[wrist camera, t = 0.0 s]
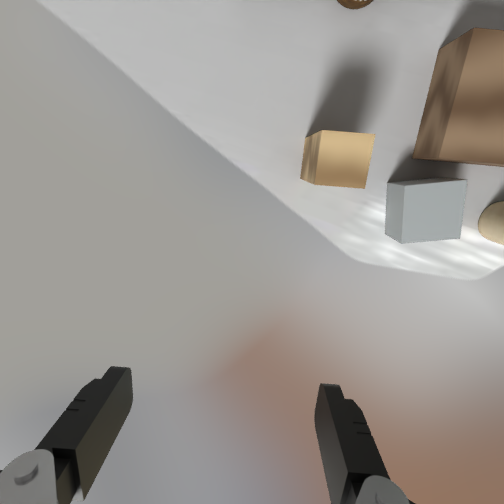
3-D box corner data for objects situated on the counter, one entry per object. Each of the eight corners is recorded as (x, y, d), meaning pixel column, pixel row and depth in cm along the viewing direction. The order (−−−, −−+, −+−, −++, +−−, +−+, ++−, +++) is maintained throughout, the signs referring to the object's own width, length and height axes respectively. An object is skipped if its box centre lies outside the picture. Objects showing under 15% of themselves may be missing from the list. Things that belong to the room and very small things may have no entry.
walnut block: (437, 50, 33) (474, 27, 27) (548, 60, 33) (608, 39, 27) (410, 158, 37) (438, 158, 31) (510, 167, 37) (556, 168, 31)
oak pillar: (305, 138, 36) (321, 129, 27) (344, 141, 36) (375, 134, 27) (300, 178, 38) (314, 184, 28) (337, 181, 38) (364, 188, 28)
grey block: (386, 182, 38) (404, 185, 33) (440, 177, 37) (467, 179, 33) (384, 233, 40) (401, 243, 35) (435, 229, 39) (460, 238, 35)
